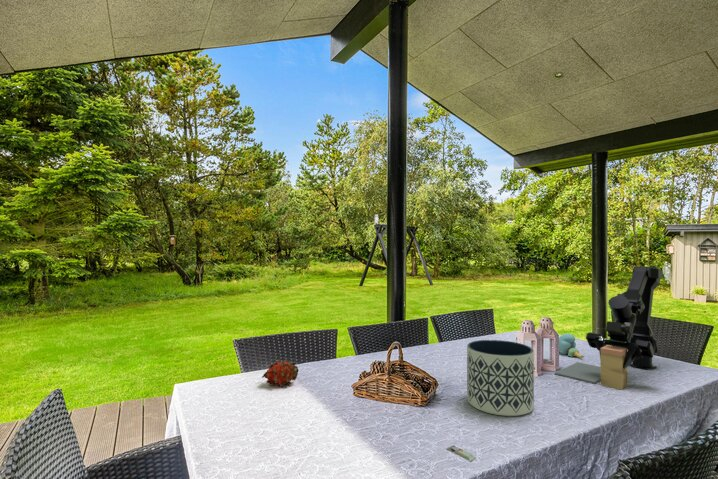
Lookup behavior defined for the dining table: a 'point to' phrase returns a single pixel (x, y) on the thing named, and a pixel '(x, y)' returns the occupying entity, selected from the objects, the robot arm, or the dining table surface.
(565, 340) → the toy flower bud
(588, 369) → the charcoal mat
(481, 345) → the planter
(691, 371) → the dining table surface
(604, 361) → the oak block
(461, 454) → the granola bar
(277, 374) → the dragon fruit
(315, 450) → the dining table surface
